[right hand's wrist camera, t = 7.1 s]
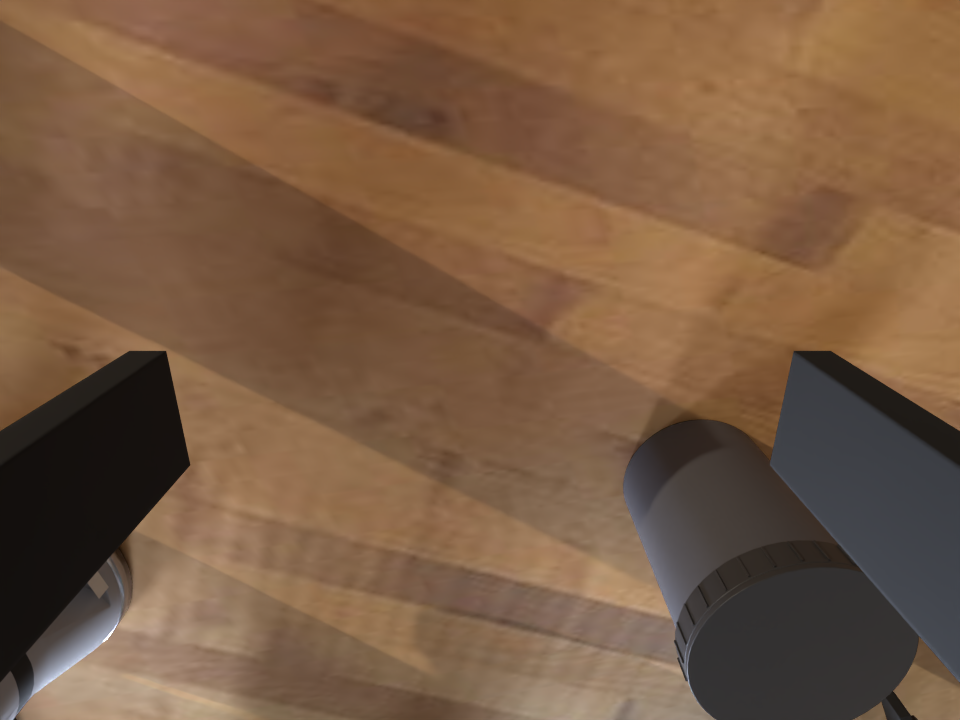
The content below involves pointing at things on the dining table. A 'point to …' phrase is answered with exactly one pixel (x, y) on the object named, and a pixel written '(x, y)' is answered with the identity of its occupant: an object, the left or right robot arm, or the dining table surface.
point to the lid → (791, 636)
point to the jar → (708, 504)
